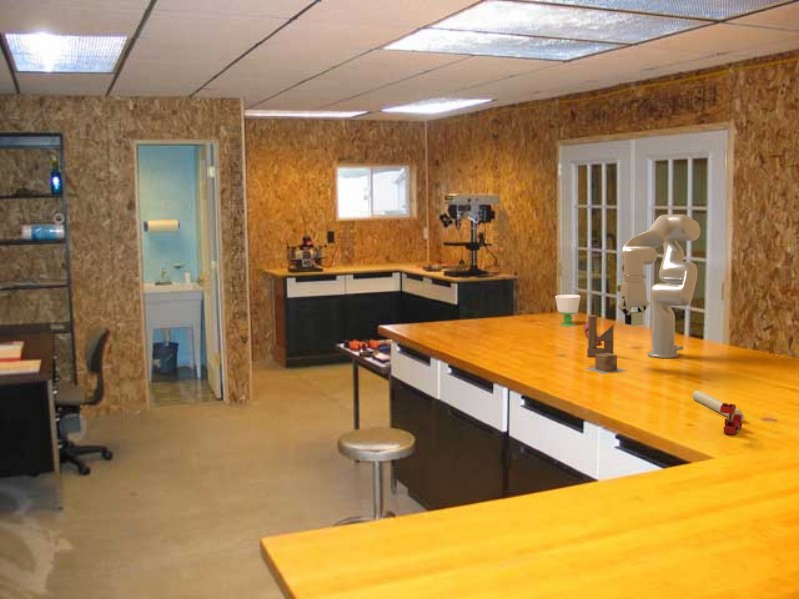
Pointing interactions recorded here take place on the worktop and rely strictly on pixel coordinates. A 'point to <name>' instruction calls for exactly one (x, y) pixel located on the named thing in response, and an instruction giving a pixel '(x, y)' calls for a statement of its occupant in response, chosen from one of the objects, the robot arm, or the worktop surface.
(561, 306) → the cup
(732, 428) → the red clamp
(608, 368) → the walnut block
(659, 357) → the robot arm
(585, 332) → the artery
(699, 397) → the paper tube
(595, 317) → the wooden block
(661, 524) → the worktop surface
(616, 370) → the build pad
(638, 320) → the cream cube
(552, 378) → the worktop surface
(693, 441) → the worktop surface
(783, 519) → the worktop surface
